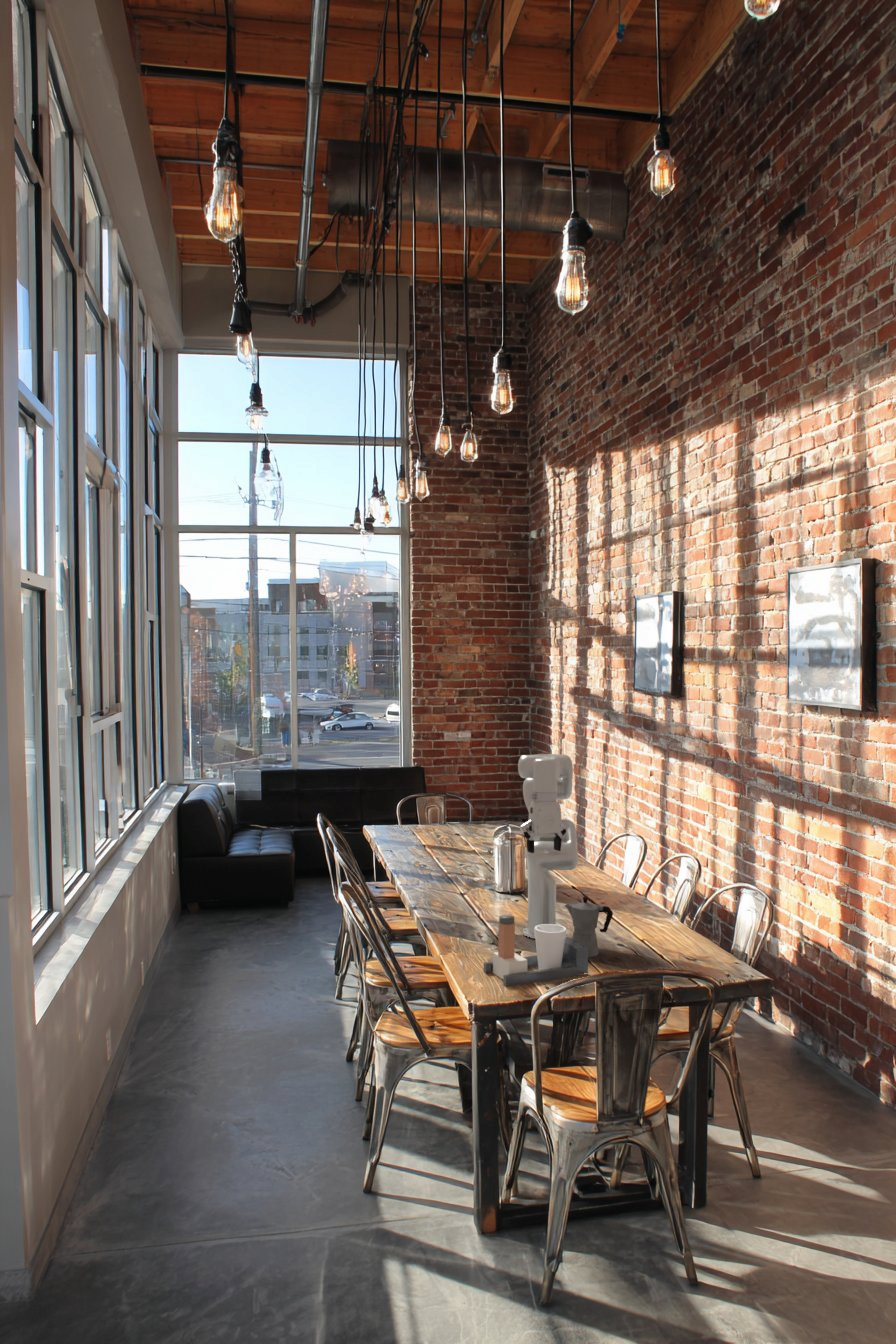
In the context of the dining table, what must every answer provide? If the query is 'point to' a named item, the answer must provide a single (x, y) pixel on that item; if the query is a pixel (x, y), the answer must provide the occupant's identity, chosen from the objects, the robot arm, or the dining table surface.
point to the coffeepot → (588, 923)
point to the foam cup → (549, 945)
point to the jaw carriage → (507, 950)
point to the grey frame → (571, 966)
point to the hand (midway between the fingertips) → (544, 851)
